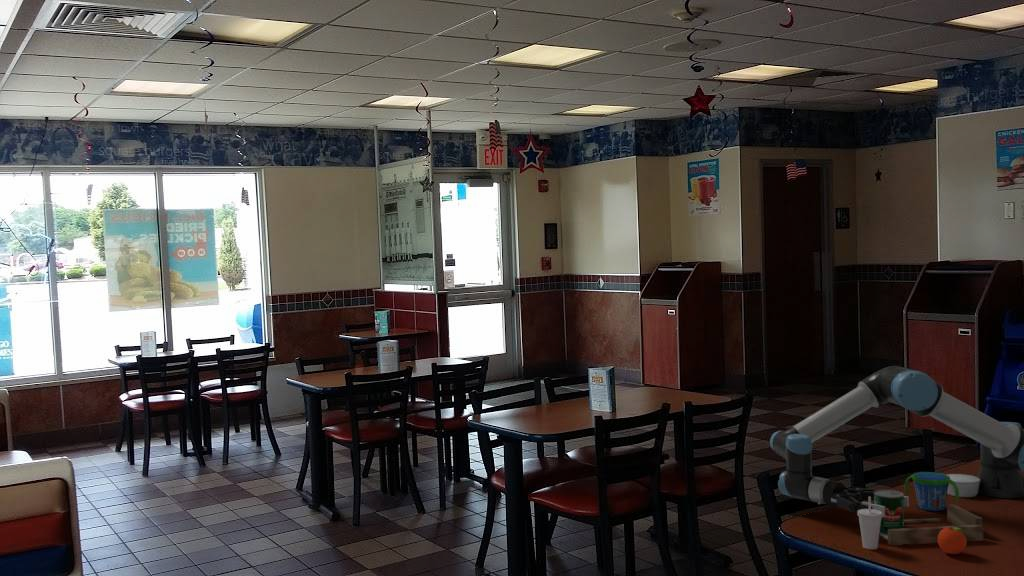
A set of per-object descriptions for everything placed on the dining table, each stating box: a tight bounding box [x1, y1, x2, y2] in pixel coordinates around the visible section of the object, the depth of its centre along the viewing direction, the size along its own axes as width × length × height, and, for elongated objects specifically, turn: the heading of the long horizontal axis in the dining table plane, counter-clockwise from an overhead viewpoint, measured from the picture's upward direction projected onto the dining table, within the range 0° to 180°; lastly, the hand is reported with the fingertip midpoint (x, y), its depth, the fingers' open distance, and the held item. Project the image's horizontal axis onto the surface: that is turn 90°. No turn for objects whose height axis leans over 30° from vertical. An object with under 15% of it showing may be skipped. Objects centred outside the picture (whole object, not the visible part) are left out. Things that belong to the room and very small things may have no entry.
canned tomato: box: [873, 489, 905, 535], centre depth 255 cm, size 8×8×11 cm
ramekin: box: [946, 473, 980, 498], centre depth 292 cm, size 11×11×5 cm
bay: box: [858, 503, 984, 546], centre depth 254 cm, size 28×18×5 cm, turn 95°
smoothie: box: [856, 497, 883, 550], centre depth 243 cm, size 6×6×14 cm
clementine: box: [937, 527, 968, 555], centre depth 237 cm, size 8×7×7 cm
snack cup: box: [903, 471, 960, 512], centre depth 277 cm, size 16×10×10 cm
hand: (896, 506), depth 253 cm, fingers open, 13 cm apart
